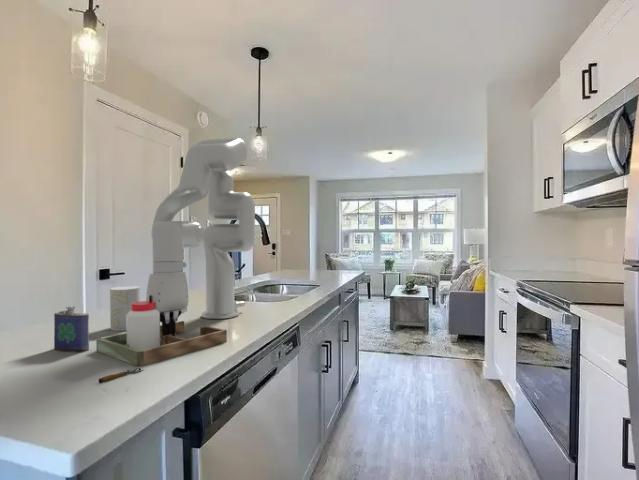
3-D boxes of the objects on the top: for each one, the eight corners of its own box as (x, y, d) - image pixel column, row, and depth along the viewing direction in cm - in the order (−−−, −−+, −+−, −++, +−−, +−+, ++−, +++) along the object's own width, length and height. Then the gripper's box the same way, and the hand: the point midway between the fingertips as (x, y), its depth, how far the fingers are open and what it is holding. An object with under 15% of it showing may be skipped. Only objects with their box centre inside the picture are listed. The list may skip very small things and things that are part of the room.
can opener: (100, 385, 75) (100, 378, 75) (95, 382, 77) (95, 376, 77) (146, 372, 82) (146, 366, 82) (140, 370, 84) (140, 364, 84)
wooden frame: (182, 331, 115) (182, 320, 115) (226, 341, 104) (226, 330, 104) (96, 351, 96) (96, 338, 96) (139, 366, 85) (138, 352, 85)
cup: (104, 328, 119) (104, 288, 119) (128, 323, 126) (128, 285, 126) (122, 331, 115) (121, 290, 115) (146, 326, 122) (145, 287, 122)
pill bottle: (128, 344, 102) (127, 301, 102) (160, 341, 105) (160, 299, 104) (124, 352, 95) (124, 306, 94) (159, 349, 97) (159, 304, 97)
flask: (91, 349, 98) (90, 305, 97) (82, 352, 95) (81, 308, 95) (60, 347, 100) (59, 304, 99) (49, 350, 97) (48, 306, 97)
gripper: (183, 265, 113) (184, 329, 114) (133, 269, 101) (134, 341, 101) (200, 266, 109) (201, 333, 109) (149, 270, 97) (150, 346, 97)
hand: (168, 336), depth 105 cm, fingers closed
